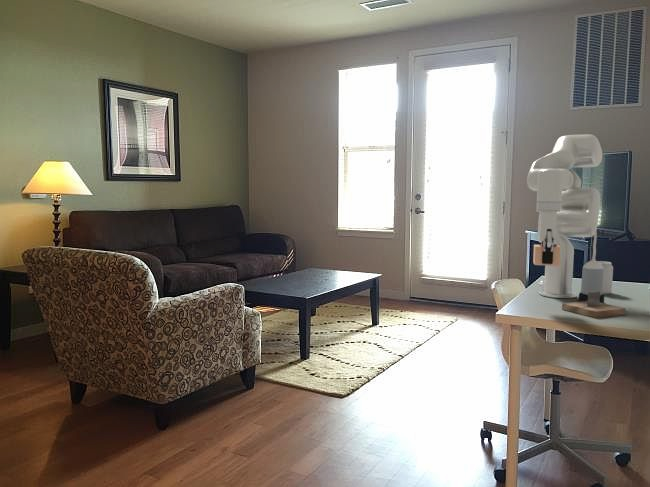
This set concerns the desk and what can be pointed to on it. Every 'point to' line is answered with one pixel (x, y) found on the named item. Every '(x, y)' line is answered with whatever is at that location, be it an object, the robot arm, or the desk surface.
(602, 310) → the stand
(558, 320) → the desk surface
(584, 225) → the robot arm
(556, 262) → the light orange block
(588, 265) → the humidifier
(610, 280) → the can
